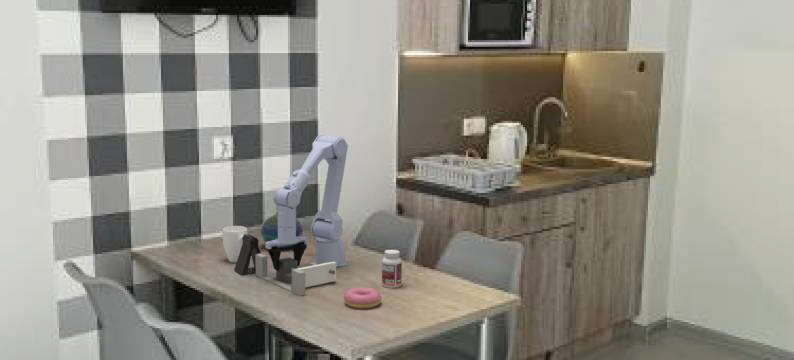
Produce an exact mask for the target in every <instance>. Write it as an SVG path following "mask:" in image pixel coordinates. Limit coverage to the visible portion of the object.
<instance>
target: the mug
mask: <svg viewBox="0 0 794 360" xmlns="http://www.w3.org/2000/svg"><path fill="white" fill-rule="evenodd" d="M245 234H246V235H248V228H247V227H245V226H243V225H231V226H224V227H223V228H222V246H223V249H224V251H225V254H226V257H227V259H228V260H227V261H229V263H235V264H236V263H237V260H238V256H239V253H240V250H241V247H242V243H243V240H242V237H243V235H245Z"/></svg>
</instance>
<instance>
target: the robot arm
mask: <svg viewBox="0 0 794 360" xmlns="http://www.w3.org/2000/svg"><path fill="white" fill-rule="evenodd" d="M311 146H312V149H311V151H310V153H309V155H308V156H307V158H306V160H305V161H304V163H303V164H302V167H300V169H296V170H294V171H293V172H292V175H291V176H290V178H289V179H288V180H287V181H286V183H285V184H284V186H283V187H281V188H279V189H278V190H276V192H275V194H274V197H273V202H274V204H275V207H276V212H277V211H278V239H275V240H272V241H268V242H264V243H265V249H266V251H267V252H268V254H269V256H270V260H271V262H272V266H273V269H274V270H275V271H276V270H279V261H280V259H281V253H282V249H279V248H278V247H281V246H287V245H292V246H293V247H292V250H293V259H295V260H297V261H298V267H300V264H301V261H302V258H303V255H304V253H305V251H306V249H307V247H308V246H307V245H308V243H309V241H308V236H305V235H302V236H299V237H296V219H297V207H298V205H299V204H300V202H301V197H302V193H303V191H304V190H305V188H306V187H308V184H309V183H310V181H311V177H310V175H311V174H312V173H313V172H314V170H315V169H316V168H317V167H318V166H319V165H320V163H321V162H322V161H323V160H325V161H326V163H327V164H328V167H327V173H326V180H325V184H324V185H325V186H324V190H323V191H324V192H323V198H322V204H321V209H320V211H318V212H317V213H316V214H315V215H314V219H313V221H312V223H311V225H310V232H311V235H312V237H314V238H313V239H314V241H315V262H310V266H313V265H318V264H323V263H328V262H336V268H339V267H344V266H346V265H347V263H345V261H346V260H345V259H346V258H345V256H346V255H345V253H346V252H345V251H346V248H345V243H344V241H343V239H341V238H342V235H343V230H344V229H343V218H342V217H341V216H340V214H339V213H338V209H339V203H340V196H341V191H342V185H343V178H344V172H345V167H346V160H347V153H348V147H349V144H348V143H347V141H346V140H345V138H343V137H341V136H339V137H337V136H329V135H324V134H319V135H317V136H316V138H315V139H314V141H313V142H312V145H311Z"/></svg>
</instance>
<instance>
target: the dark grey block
mask: <svg viewBox="0 0 794 360" xmlns="http://www.w3.org/2000/svg"><path fill="white" fill-rule="evenodd" d="M292 268H294V269H297V268H299V266H298V261H297V260H295V259H294V258H292V257H283V258H280V261H279V270H275V278H276V279H277V280H280V281H282V282H284V281H285V282H284V283H287V284H289V285H290V284H291V269H292Z"/></svg>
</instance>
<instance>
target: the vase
mask: <svg viewBox="0 0 794 360" xmlns="http://www.w3.org/2000/svg"><path fill="white" fill-rule="evenodd" d="M303 233H304V227H303V224H302V222H301V221H300V220H299V219H298V218H296V237H299V236H304V234H303ZM260 234H261V235H260V236H261V238H262V240H263V242H264V243H265V242H268V241H272V240H275V239H278V211H277V210H276V213H274V214H273V215H271V216H269V217H268V218H266V219H265V220H264V221H263V223H262V224H261V227H260ZM278 248H279V250H283V249H291V248H293V246H292V245H287V246H281V247H278Z"/></svg>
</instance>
